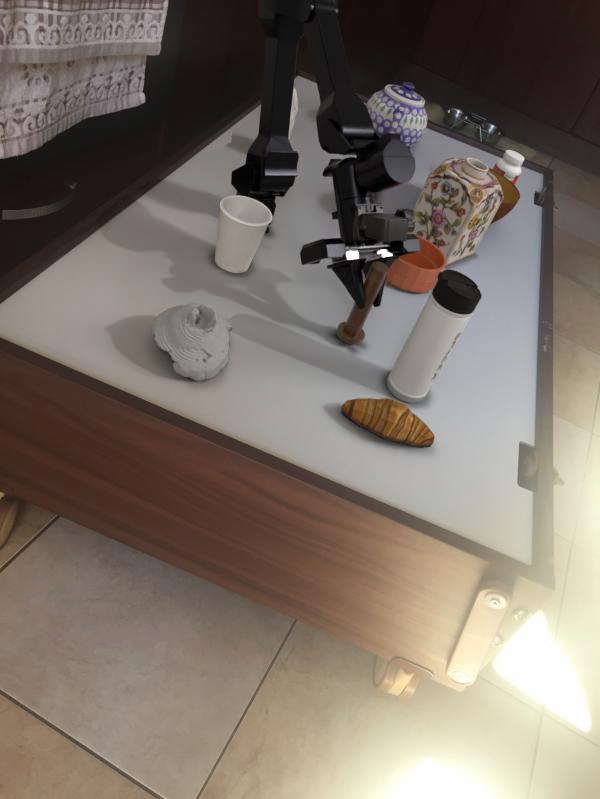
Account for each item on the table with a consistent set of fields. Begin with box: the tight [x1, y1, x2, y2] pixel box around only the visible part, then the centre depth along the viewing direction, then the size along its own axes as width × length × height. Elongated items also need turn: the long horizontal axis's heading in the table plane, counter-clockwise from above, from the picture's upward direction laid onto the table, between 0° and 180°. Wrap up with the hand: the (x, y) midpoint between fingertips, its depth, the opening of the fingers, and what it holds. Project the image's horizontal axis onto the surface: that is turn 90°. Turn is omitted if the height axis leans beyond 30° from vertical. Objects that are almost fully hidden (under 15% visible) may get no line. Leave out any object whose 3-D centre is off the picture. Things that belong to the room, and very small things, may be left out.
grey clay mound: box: [150, 303, 234, 382], centre depth 97 cm, size 12×12×11 cm
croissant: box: [341, 397, 436, 448], centre depth 99 cm, size 14×7×5 cm, turn 77°
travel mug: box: [385, 268, 483, 404], centre depth 103 cm, size 6×7×20 cm
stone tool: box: [288, 87, 299, 140], centre depth 149 cm, size 8×3×15 cm, turn 156°
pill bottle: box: [492, 149, 525, 186], centre depth 170 cm, size 6×6×11 cm
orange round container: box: [385, 233, 447, 294], centre depth 132 cm, size 12×12×6 cm
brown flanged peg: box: [335, 261, 389, 346], centre depth 109 cm, size 4×4×13 cm
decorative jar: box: [409, 157, 504, 266], centre depth 141 cm, size 12×12×18 cm
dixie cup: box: [214, 194, 273, 274], centre depth 116 cm, size 8×8×10 cm
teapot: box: [365, 81, 428, 150], centre depth 173 cm, size 25×15×15 cm, turn 166°
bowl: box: [442, 157, 521, 225], centre depth 155 cm, size 18×18×10 cm
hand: (369, 307), depth 108 cm, fingers closed on brown flanged peg, 2 cm apart
